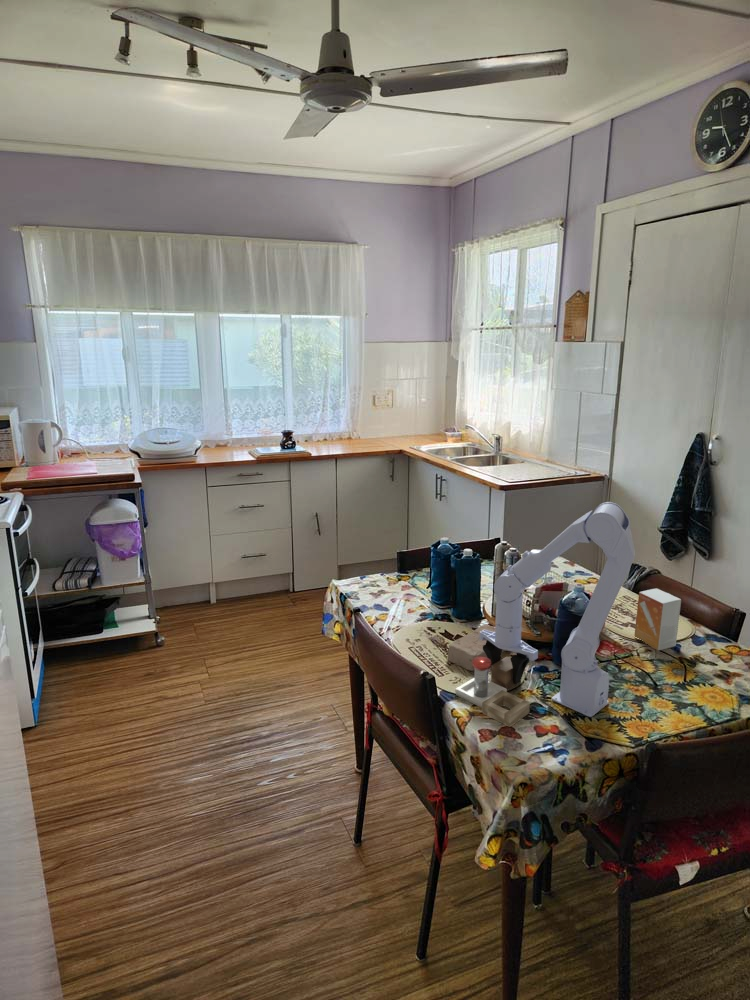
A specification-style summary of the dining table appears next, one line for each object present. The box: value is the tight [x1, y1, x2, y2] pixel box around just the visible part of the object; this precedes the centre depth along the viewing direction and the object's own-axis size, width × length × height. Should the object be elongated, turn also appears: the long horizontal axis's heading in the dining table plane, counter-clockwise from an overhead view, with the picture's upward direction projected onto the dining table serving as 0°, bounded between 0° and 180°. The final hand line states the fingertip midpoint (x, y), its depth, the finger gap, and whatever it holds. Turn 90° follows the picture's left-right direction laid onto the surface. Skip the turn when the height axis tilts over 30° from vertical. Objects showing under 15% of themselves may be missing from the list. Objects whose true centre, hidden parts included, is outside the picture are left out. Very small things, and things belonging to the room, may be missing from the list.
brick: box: [447, 624, 506, 671], centre depth 160 cm, size 17×8×5 cm, turn 136°
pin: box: [472, 657, 491, 698], centre depth 141 cm, size 4×4×8 cm
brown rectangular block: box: [490, 656, 521, 691], centre depth 146 cm, size 4×6×5 cm, turn 133°
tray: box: [454, 677, 508, 709], centre depth 142 cm, size 8×8×2 cm
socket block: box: [481, 690, 531, 728], centre depth 135 cm, size 7×7×2 cm
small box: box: [634, 588, 682, 652], centre depth 164 cm, size 8×6×13 cm
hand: (506, 677), depth 146 cm, fingers open, 5 cm apart
